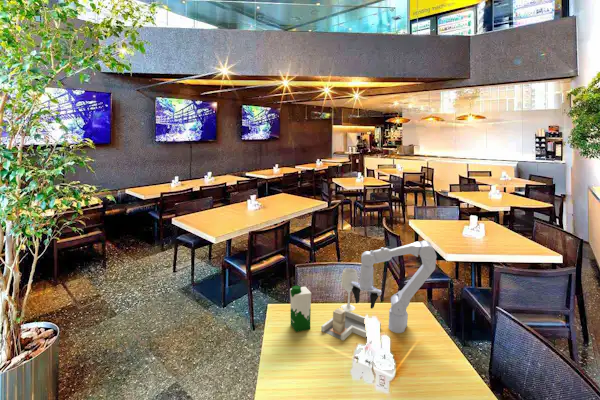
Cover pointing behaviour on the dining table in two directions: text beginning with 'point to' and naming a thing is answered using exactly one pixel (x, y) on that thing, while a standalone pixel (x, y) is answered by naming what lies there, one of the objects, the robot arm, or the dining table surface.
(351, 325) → the walled channel course
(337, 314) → the peg
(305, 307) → the milk carton
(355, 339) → the dining table surface
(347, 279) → the wineglass
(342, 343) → the dining table surface
